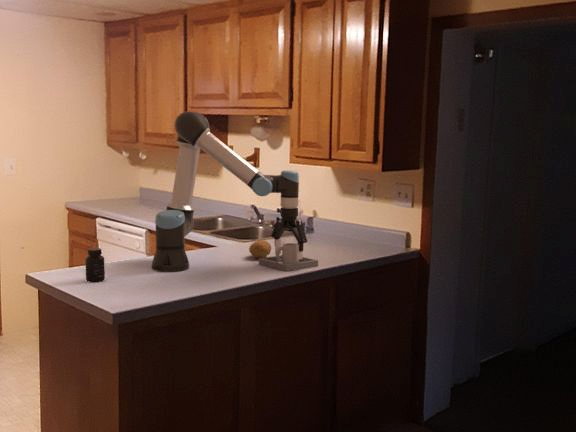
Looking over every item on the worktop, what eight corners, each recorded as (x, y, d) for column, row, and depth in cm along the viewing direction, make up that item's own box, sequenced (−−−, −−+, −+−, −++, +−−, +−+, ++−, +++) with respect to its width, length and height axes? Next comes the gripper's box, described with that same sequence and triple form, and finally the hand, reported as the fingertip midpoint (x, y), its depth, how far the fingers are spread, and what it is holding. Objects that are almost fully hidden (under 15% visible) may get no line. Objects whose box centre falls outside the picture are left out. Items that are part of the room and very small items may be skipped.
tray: (286, 271, 267) (286, 265, 267) (258, 264, 280) (258, 258, 280) (318, 265, 279) (318, 260, 279) (289, 259, 292) (289, 253, 292)
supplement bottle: (82, 280, 245) (81, 248, 244) (99, 277, 250) (98, 246, 249) (91, 283, 240) (90, 251, 239) (108, 280, 245) (107, 249, 244)
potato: (273, 255, 301) (273, 238, 300) (268, 261, 288) (269, 243, 287) (252, 254, 302) (252, 237, 301) (247, 260, 289) (247, 242, 288)
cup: (299, 266, 277) (299, 246, 276) (276, 266, 276) (276, 245, 275) (298, 263, 284) (298, 243, 283) (275, 263, 283) (275, 243, 282)
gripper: (316, 209, 270) (315, 260, 273) (276, 203, 288) (275, 251, 291) (303, 210, 265) (302, 262, 268) (263, 205, 283) (263, 253, 286)
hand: (288, 256), depth 279 cm, fingers open, 13 cm apart
